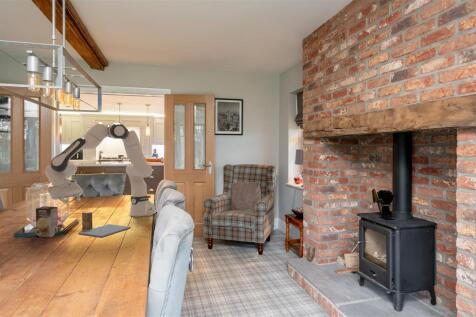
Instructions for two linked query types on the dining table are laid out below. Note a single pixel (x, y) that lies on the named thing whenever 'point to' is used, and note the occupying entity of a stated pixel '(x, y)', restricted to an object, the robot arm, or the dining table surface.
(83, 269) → the dining table surface
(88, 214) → the walnut block
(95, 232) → the mat
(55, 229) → the coffee box
